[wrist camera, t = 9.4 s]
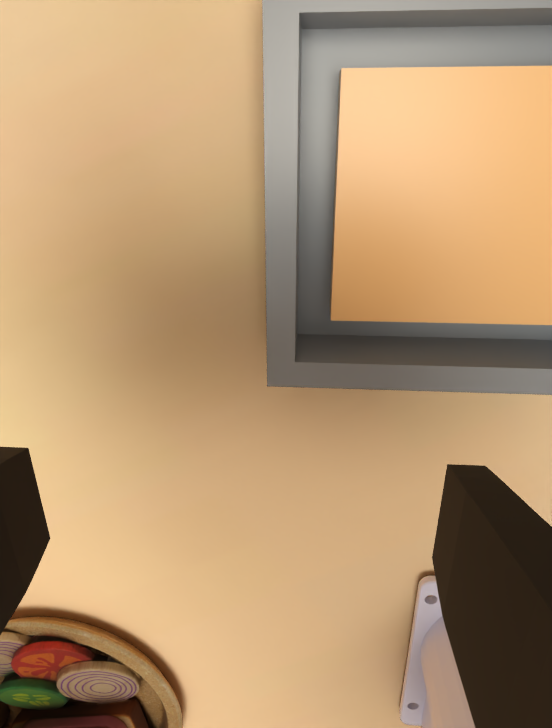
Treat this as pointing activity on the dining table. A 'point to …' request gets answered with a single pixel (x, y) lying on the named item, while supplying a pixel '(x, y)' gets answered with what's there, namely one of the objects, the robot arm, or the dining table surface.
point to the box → (408, 194)
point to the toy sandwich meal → (79, 679)
